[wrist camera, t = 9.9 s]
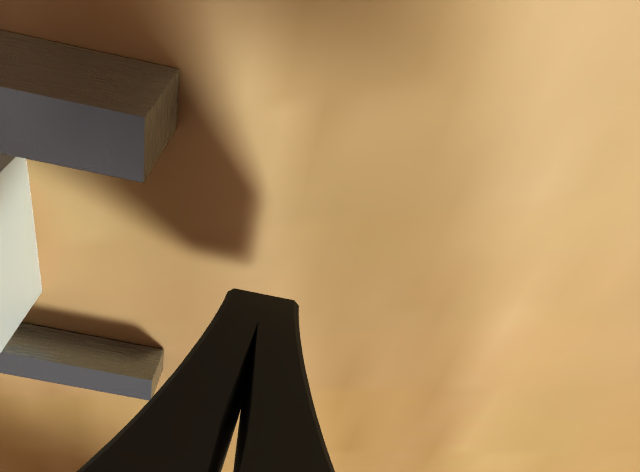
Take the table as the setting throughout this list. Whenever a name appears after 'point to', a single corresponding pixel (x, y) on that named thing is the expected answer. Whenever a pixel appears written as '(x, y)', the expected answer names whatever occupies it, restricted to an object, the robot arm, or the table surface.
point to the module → (16, 247)
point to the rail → (89, 155)
